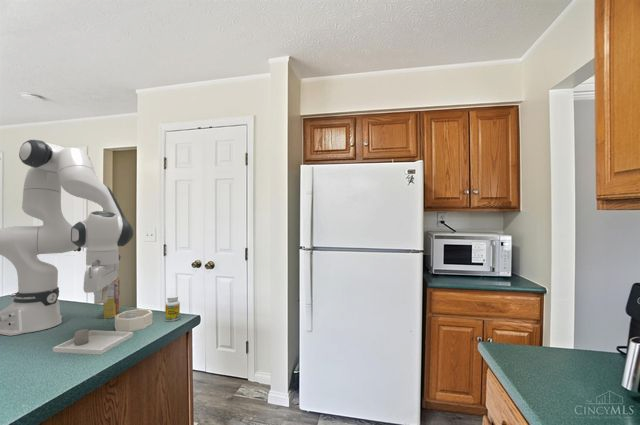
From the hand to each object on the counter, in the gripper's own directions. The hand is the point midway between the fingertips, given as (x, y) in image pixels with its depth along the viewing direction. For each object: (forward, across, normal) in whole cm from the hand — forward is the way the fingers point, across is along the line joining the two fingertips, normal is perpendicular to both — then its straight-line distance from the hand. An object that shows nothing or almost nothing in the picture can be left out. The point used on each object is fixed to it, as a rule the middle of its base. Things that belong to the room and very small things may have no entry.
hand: (101, 299), depth 99 cm
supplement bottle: (+15, +18, -20) cm, 30 cm away
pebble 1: (+14, 0, +5) cm, 15 cm away
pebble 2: (+1, 0, 0) cm, 1 cm away
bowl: (+15, +13, -7) cm, 21 cm away
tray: (+15, -2, +1) cm, 15 cm away
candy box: (+15, +31, +6) cm, 35 cm away
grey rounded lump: (+14, +14, -5) cm, 20 cm away
